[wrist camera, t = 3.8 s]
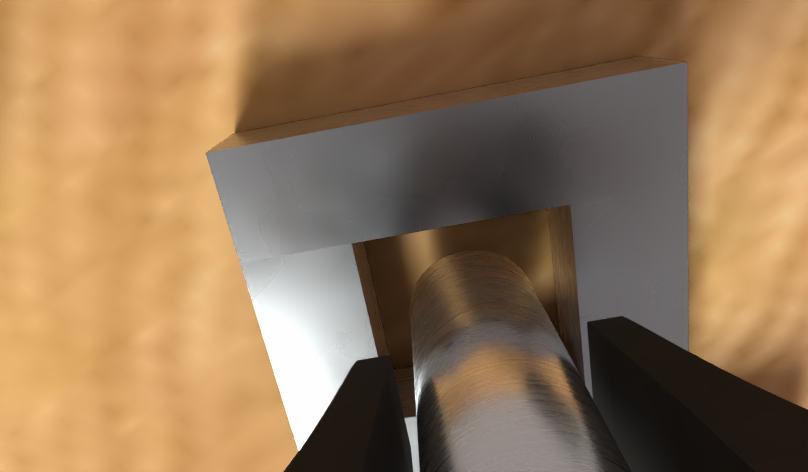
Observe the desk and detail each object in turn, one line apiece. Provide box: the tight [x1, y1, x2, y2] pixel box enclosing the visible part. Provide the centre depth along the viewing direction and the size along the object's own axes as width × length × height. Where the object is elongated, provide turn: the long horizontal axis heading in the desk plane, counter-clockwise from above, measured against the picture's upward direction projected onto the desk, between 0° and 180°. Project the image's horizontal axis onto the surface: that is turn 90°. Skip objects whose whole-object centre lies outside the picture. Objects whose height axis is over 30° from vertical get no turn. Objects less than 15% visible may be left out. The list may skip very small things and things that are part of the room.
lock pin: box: [410, 250, 632, 472], centre depth 9 cm, size 4×4×8 cm
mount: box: [206, 56, 689, 472], centre depth 13 cm, size 9×9×2 cm
